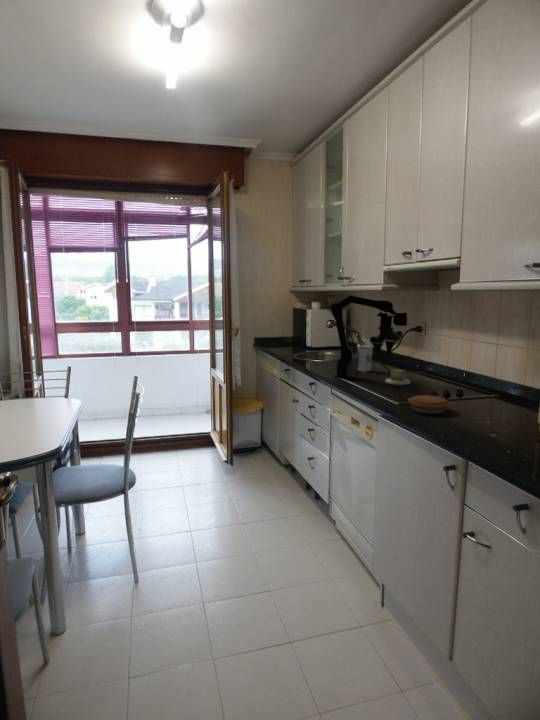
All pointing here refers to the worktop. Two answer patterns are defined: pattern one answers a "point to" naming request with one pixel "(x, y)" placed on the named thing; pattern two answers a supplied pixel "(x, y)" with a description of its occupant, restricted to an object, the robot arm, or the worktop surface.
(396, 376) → the beech block
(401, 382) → the saucer
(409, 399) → the pie
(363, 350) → the syrup box
